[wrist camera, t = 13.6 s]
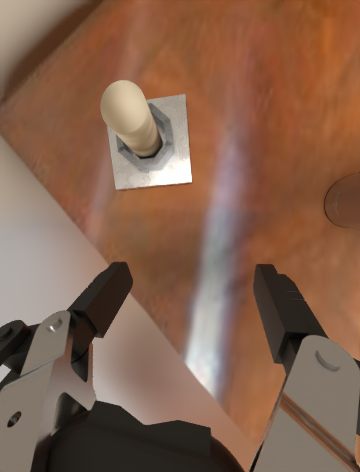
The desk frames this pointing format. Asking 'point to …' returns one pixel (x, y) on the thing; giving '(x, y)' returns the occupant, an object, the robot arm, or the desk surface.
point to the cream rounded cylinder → (131, 118)
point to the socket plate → (175, 163)
